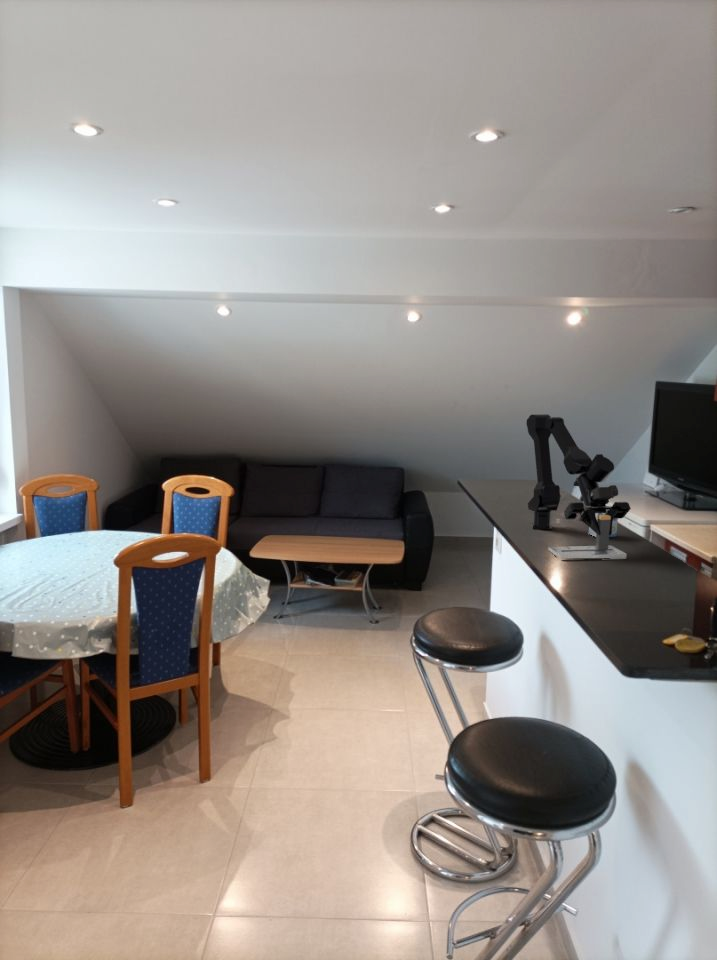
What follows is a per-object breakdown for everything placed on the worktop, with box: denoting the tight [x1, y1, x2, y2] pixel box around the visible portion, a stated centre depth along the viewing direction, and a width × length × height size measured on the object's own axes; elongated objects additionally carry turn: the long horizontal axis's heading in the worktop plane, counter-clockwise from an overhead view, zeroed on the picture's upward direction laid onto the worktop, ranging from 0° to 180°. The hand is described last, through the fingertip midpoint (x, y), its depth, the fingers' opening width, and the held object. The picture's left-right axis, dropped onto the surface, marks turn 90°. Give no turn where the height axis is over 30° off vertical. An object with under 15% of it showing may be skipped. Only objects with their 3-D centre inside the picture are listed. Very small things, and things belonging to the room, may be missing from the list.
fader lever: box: [594, 515, 611, 550], centre depth 192 cm, size 3×2×10 cm, turn 97°
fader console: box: [548, 545, 628, 560], centre depth 193 cm, size 20×9×2 cm, turn 97°
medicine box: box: [588, 513, 619, 538], centre depth 215 cm, size 8×4×9 cm, turn 105°
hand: (605, 534), depth 191 cm, fingers closed on fader lever, 3 cm apart
